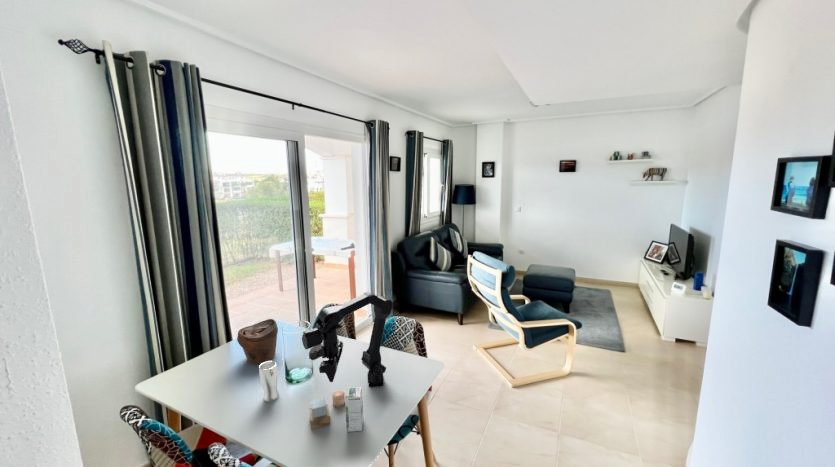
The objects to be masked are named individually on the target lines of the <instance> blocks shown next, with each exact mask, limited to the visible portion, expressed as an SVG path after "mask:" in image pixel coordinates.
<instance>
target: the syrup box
mask: <svg viewBox="0 0 835 467" xmlns="http://www.w3.org/2000/svg"><path fill="white" fill-rule="evenodd" d="M344 397H345V404H344V405H345V407H344V408H345V423H346V432H347V433H349V432H352V433H353V432H360V431H361V432H362V431H363V427H364V426H363V425H364V405H363V400H364V399H363V387H361V386H359V387H358V386H357V387H356V386H353V387H347V388H346V392H345V396H344Z"/></svg>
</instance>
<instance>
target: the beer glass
mask: <svg viewBox="0 0 835 467" xmlns="http://www.w3.org/2000/svg"><path fill="white" fill-rule="evenodd" d="M258 371H259V372H258V375H259V382H260V384H261V387H262V391H263V401H265V403H266V402H267V403H271V402H273V401H275V400H278V398H279V396H280V393H279V390H278V382H279V380H278V379H279V373H278V366H277V363H276V361H274V360H268V361H266V362H263V363H260V365H259V366H258Z"/></svg>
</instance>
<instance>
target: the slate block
mask: <svg viewBox="0 0 835 467" xmlns="http://www.w3.org/2000/svg"><path fill="white" fill-rule="evenodd" d="M310 402H311V408H312V413H313V418H317V417H321V416H324V415H327V411H326V404H327V403H326V398H325V397H320V398H316V399H312V400H311V401H310Z"/></svg>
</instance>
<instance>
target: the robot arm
mask: <svg viewBox="0 0 835 467" xmlns="http://www.w3.org/2000/svg"><path fill="white" fill-rule="evenodd" d="M370 304H371V305H373V312H374V321H373V325H372V331H371V335H370V339H369V345H368V348H367V349H366V350H364V351H362V356H361V358H360V360H361V363H362V365H363V366H364V367H365V368H366V369H367V370H368V371H367V375H366V376H367V384H368V387H369V388H373V387H383V386H385V382H384V380H385V379H384V378H385V376H384V373H386V370H387V367H386V366H385V365H384V364H382V356H381V355H382V354H381V344H382V340H383V337H384V331H385V328H386V327H385V326H386V322H387V318H388V317H389V316H390V315H391V313H392V310H393V307H394V303H393V301H392V300H391V299H389V298H387V297H385V296H383V295H376V294H373V293H371V292H369V291H365V292H363V293H362V294H360V295H359V296H356V297H354V298H353V299H352V298H351V299H350V300H348V301H346V302H344V303H342V304H339V305H332V306H329V307H328V306H327V307H326V308H323V309H321V310H320V312H319V314H318V317H317V319H316V321H315V323H314V324H313V327H314V328H312V329H308V330H303V332H302V333H303V334H302V336H301V342H302V345H303V347H304V349H305V350H309V349H310V350H309V352H308V359H309V360H311V361H315V360H317V359H320V358H322V359H328V360H322V361H321V362H320V364H319V368H318V370H319V373H320V374H325V375H326V377H327V379H328V380H329V383H334V379H335V377H336V373H337V370H338V367H339V362H340V359H341V357H342V356H341V355H342V354H343V349H344V343H343V341H341V340H340V339H339V337H338V329H342V327H343V326H342V325H341V324H340V322H341V321H342V320H343V319H344V317H347V316H348V315H350V314H352V313H353V312H356V311H358V310H360V309H361V308H364V307H366V306H367V305H370ZM322 324H323V325H322Z"/></svg>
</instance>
